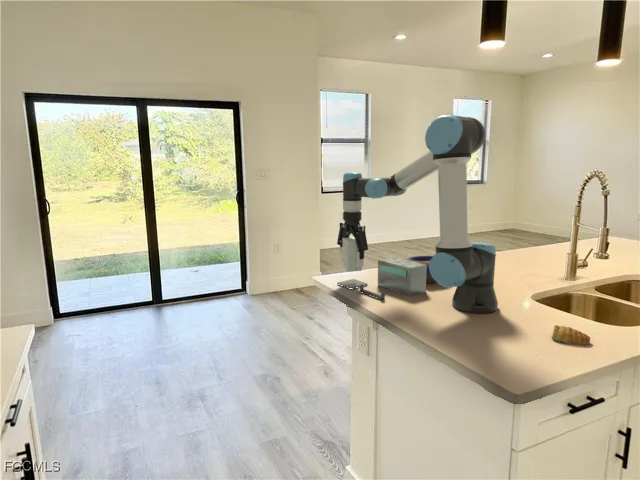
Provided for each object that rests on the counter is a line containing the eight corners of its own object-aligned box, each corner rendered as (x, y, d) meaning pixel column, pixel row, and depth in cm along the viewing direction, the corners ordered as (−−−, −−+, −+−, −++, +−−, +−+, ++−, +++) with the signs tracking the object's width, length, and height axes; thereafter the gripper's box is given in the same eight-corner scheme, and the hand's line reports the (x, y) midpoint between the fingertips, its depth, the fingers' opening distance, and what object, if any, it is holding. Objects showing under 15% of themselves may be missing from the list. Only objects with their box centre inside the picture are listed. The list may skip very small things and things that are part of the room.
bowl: (425, 272, 197) (425, 251, 195) (456, 280, 182) (457, 258, 180) (396, 278, 187) (396, 256, 186) (426, 287, 172) (427, 264, 171)
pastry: (589, 340, 121) (591, 327, 120) (589, 349, 115) (591, 336, 114) (552, 333, 126) (553, 321, 125) (550, 341, 120) (551, 329, 119)
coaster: (367, 285, 176) (367, 283, 176) (350, 289, 171) (350, 287, 171) (353, 281, 184) (353, 278, 183) (337, 284, 178) (337, 282, 178)
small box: (362, 271, 173) (362, 239, 171) (347, 272, 172) (347, 240, 169) (356, 266, 181) (356, 236, 178) (342, 267, 180) (342, 237, 177)
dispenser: (425, 291, 167) (426, 264, 165) (387, 302, 155) (387, 273, 153) (393, 281, 181) (393, 256, 180) (355, 291, 169) (355, 264, 167)
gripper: (377, 212, 165) (377, 268, 169) (342, 208, 183) (342, 258, 187) (363, 214, 161) (362, 271, 165) (328, 209, 179) (328, 260, 183)
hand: (351, 264), depth 176 cm, fingers closed on small box, 10 cm apart
